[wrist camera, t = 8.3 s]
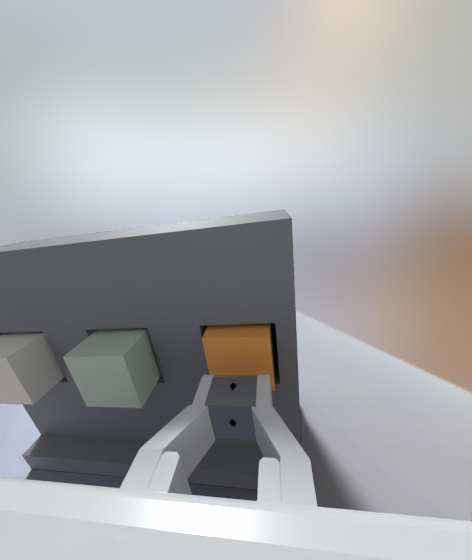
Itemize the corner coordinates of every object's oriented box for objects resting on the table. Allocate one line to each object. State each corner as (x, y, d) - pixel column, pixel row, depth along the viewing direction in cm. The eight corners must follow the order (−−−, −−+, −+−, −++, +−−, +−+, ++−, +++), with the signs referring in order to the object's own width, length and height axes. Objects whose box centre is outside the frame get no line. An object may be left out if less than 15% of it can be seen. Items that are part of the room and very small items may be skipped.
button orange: (212, 389, 12) (201, 338, 11) (223, 353, 15) (215, 309, 14) (274, 390, 12) (269, 336, 11) (273, 353, 15) (269, 306, 13)
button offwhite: (-12, 403, 14) (-43, 358, 13) (35, 367, 16) (13, 328, 15) (33, 404, 13) (5, 357, 12) (74, 367, 16) (55, 326, 15)
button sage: (86, 406, 12) (62, 357, 11) (119, 367, 15) (103, 324, 14) (142, 408, 12) (122, 356, 11) (166, 367, 15) (152, 322, 13)
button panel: (31, 468, 17) (-108, 267, 11) (97, 392, 23) (28, 240, 18) (305, 493, 13) (295, 222, 8) (293, 396, 20) (283, 209, 14)
